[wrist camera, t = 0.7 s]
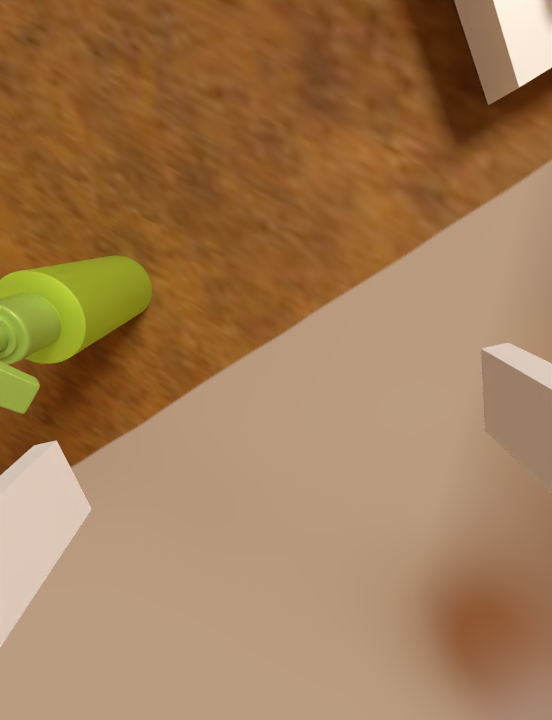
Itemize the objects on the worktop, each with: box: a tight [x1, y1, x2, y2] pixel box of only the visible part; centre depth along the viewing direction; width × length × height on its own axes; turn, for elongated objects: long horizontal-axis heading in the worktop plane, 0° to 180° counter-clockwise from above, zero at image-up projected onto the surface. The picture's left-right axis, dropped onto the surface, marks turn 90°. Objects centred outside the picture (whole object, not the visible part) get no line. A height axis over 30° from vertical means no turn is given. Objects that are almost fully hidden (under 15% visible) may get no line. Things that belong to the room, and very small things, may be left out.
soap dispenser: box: [0, 255, 152, 414], centre depth 25 cm, size 6×7×20 cm
